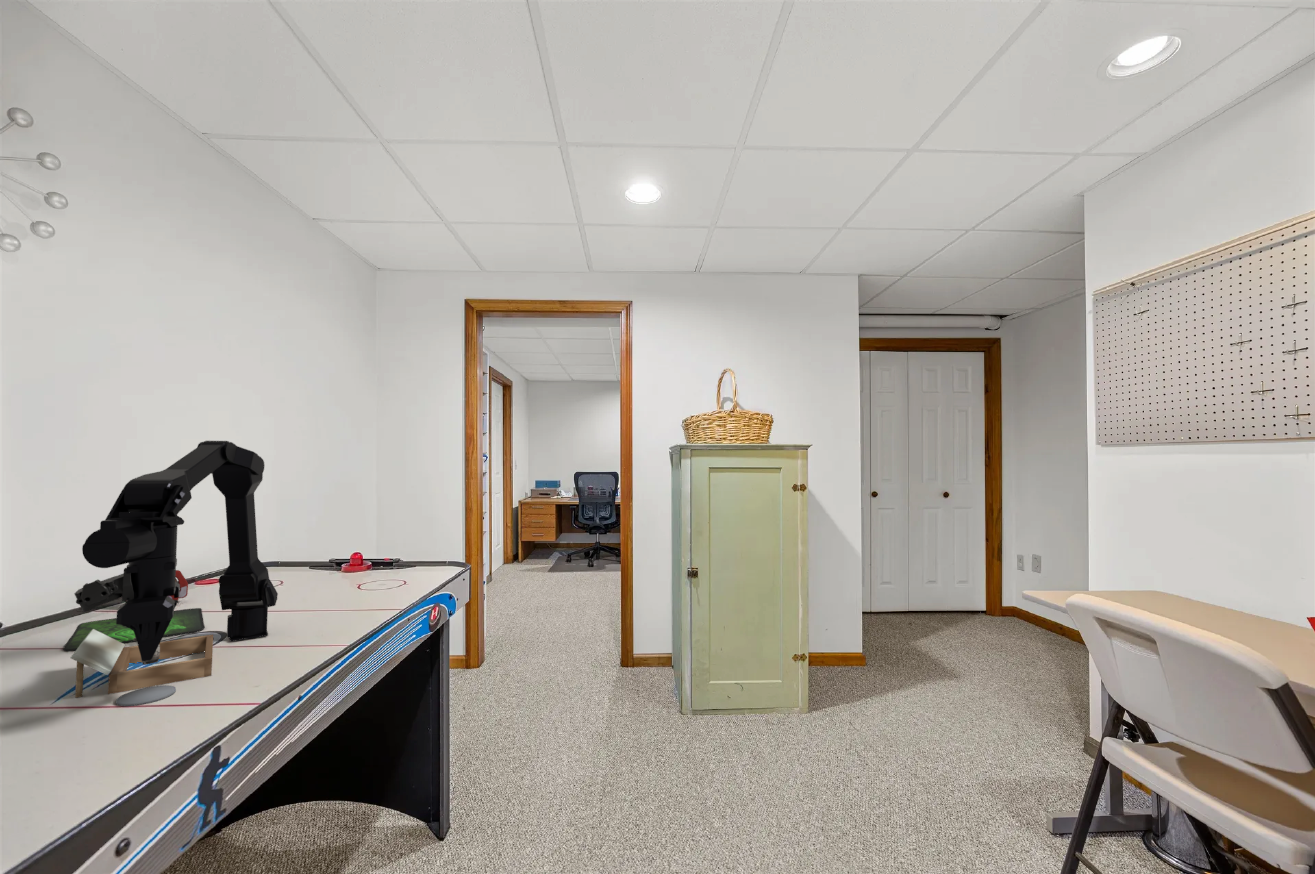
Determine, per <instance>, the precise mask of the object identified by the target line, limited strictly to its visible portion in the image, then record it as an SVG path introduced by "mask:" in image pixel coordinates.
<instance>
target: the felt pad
mask: <svg viewBox="0 0 1315 874" xmlns="http://www.w3.org/2000/svg"><path fill="white" fill-rule="evenodd" d="M176 691H177V690H176V686H175V685H169V684H162V685H156V686H151V687H145V688H140V689H134V690H130V691H128V692H127V693H126V692H125V693H124V694H122V695H120V696H118V697H117V699H116V700H115V703H116V705H117V706H121V707H135V706H134V705H136V706H143V705H147V704H151V703H154V702H158V700H159V701H161V699H162V700H163V699H167V698H169V697H170V696H173V695H174V694H175V693H176ZM146 703H147V704H146Z"/></svg>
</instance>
